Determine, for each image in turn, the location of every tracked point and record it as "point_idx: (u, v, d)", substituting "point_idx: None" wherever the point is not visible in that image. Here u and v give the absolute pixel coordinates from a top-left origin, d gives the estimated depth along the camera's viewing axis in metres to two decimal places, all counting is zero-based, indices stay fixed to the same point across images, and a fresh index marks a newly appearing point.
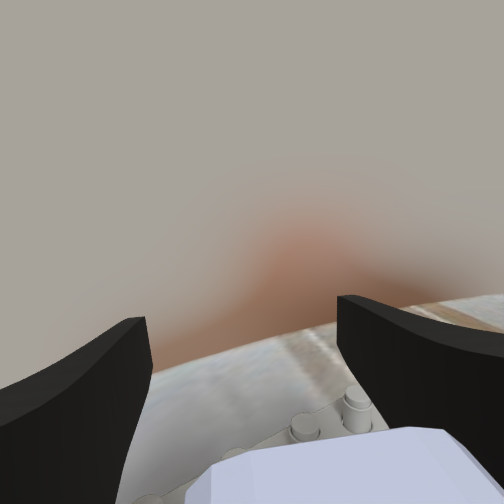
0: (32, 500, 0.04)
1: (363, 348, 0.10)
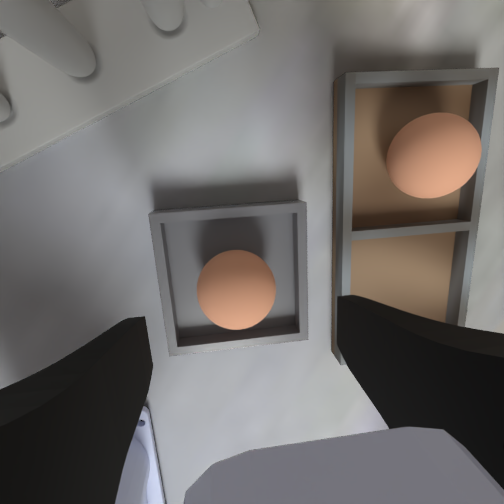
0: (32, 500, 0.04)
1: (363, 348, 0.10)
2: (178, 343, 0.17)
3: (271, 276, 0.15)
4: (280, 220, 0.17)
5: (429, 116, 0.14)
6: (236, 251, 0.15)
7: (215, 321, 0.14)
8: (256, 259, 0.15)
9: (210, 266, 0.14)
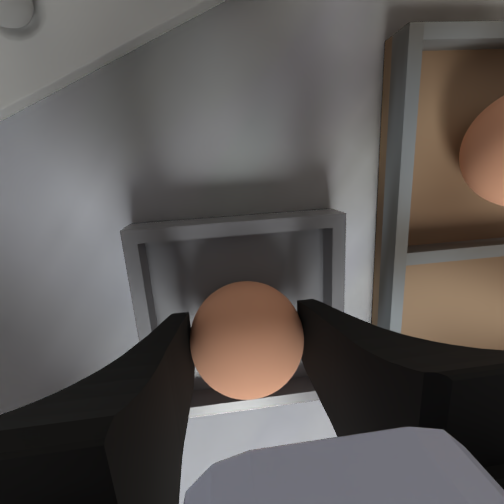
0: (138, 483, 0.05)
1: (316, 354, 0.10)
2: None
3: (298, 322, 0.10)
4: (306, 236, 0.12)
5: None
6: (247, 285, 0.10)
7: (216, 390, 0.10)
8: (276, 297, 0.10)
9: (209, 310, 0.10)
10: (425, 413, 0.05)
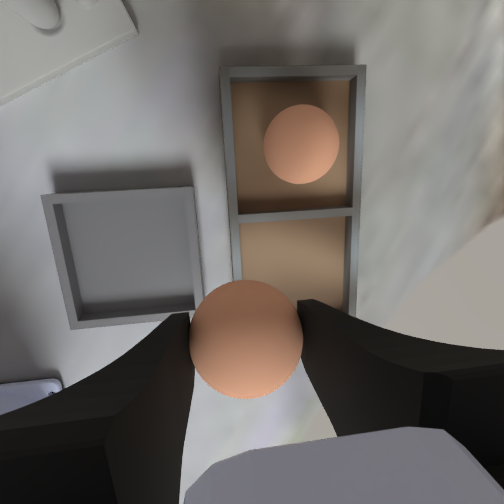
0: (139, 484, 0.05)
1: (316, 354, 0.10)
2: (80, 318, 0.19)
3: (297, 321, 0.10)
4: (174, 204, 0.18)
5: (290, 107, 0.15)
6: (246, 284, 0.10)
7: (215, 389, 0.10)
8: (276, 296, 0.10)
9: (208, 308, 0.10)
10: (425, 413, 0.05)
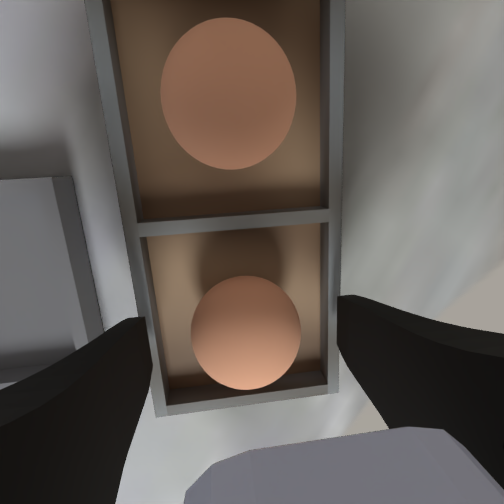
0: (32, 500, 0.04)
1: (363, 348, 0.10)
2: None
3: (295, 315, 0.11)
4: (36, 206, 0.11)
5: (200, 23, 0.08)
6: (246, 279, 0.11)
7: (217, 380, 0.10)
8: (274, 290, 0.10)
9: (210, 303, 0.10)
10: None
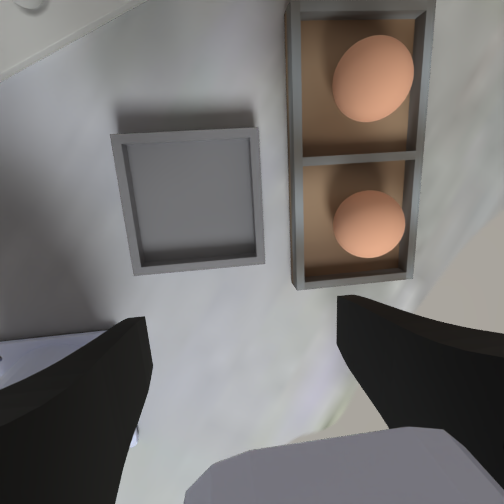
0: (32, 500, 0.04)
1: (363, 348, 0.10)
2: (142, 265, 0.19)
3: (402, 210, 0.18)
4: (236, 148, 0.18)
5: (365, 38, 0.15)
6: (371, 190, 0.18)
7: (359, 247, 0.17)
8: (390, 196, 0.17)
9: (355, 201, 0.17)
10: None
